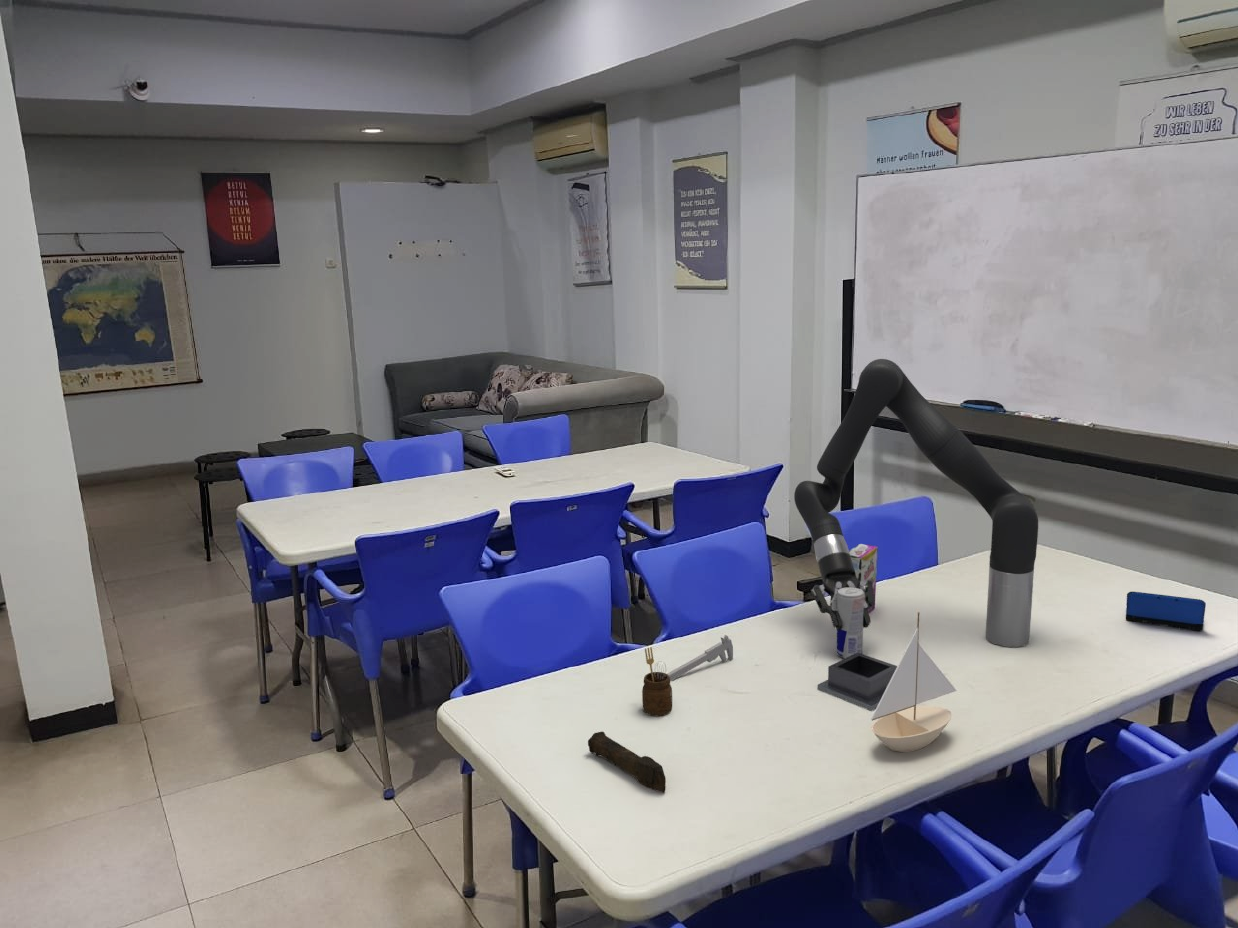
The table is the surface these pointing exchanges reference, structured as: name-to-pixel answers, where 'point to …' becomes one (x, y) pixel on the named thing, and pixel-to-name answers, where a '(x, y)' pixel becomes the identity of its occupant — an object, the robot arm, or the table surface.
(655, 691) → the utensil holder
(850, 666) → the dark grey square holder
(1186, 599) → the handheld game console
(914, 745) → the toy sailboat
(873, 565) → the candy bar box
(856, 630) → the beverage can
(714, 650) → the caliper
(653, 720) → the table surface
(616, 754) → the hand tool
